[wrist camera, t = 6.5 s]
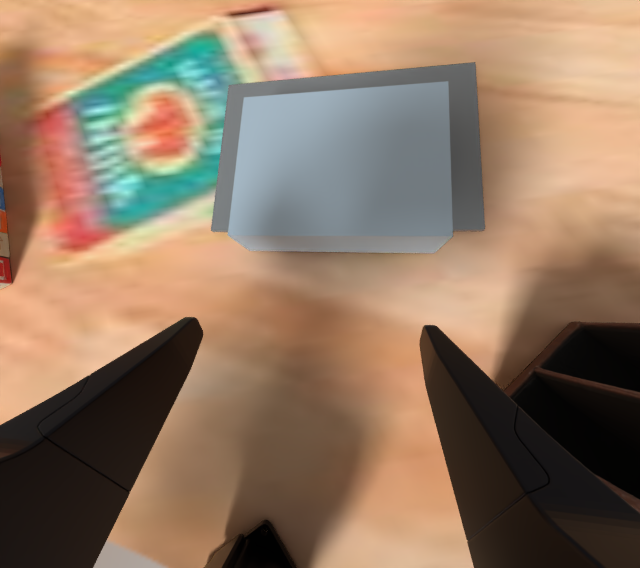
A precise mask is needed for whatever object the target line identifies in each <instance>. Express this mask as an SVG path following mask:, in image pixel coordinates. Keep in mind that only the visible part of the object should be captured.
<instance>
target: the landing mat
mask: <svg viewBox="0 0 640 568" xmlns="http://www.w3.org/2000/svg"><path fill="white" fill-rule="evenodd" d="M445 81H448V86H449V119H450V153H451V186H452V220H453V231H483V230H485V221H484V204H483V186H482V169H481V152H480V134H479V117H478V99H477V82H476V65H475V62H474V63H463V64H452V65H441V66H430V67H419V68H409V69H398V70H387V71H376V72H365V73H355V74H344V75H333V76H322V77H311V78H301V79H290V80H279V81H268V82H257V83H247V84H236V85H229V88H228V96H227V105H226V113H225V121H224V129H223V137H222V145H221V153H220V162H219V170H218V178H217V186H216V194H215V202H214V210H213V219H212V227H211V231H213V232H228V228H229V220H230V211H231V203H232V194H233V186H234V177H235V169H236V160H237V152H238V143H239V134H240V126H241V117H242V109H243V100H244V97H255V96H268V95H281V94H293V93H306V92H319V91H331V90H344V89H356V88H369V87H382V86H394V85H407V84H420V83H432V82H445Z"/></svg>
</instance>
